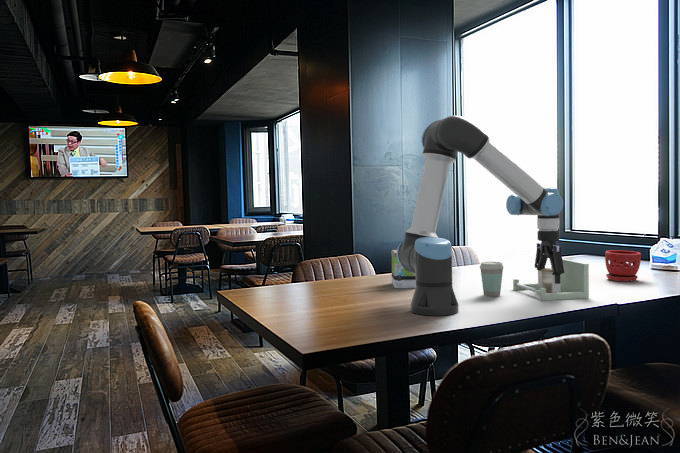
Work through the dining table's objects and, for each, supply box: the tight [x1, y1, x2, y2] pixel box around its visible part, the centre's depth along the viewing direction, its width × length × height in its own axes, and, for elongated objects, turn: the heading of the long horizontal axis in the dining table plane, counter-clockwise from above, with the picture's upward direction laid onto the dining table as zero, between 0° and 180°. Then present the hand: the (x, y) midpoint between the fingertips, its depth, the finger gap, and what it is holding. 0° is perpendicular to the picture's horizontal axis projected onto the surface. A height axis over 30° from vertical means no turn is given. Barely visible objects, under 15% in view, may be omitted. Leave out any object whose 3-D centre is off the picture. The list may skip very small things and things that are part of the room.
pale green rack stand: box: [512, 257, 590, 301], centre depth 197 cm, size 17×23×12 cm
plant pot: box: [604, 249, 642, 282], centre depth 222 cm, size 13×13×12 cm
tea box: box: [390, 249, 416, 289], centre depth 224 cm, size 15×10×15 cm
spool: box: [541, 267, 553, 293], centre depth 197 cm, size 5×5×9 cm
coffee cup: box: [479, 261, 504, 298], centre depth 197 cm, size 8×8×12 cm
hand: (548, 289), depth 197 cm, fingers open, 10 cm apart
